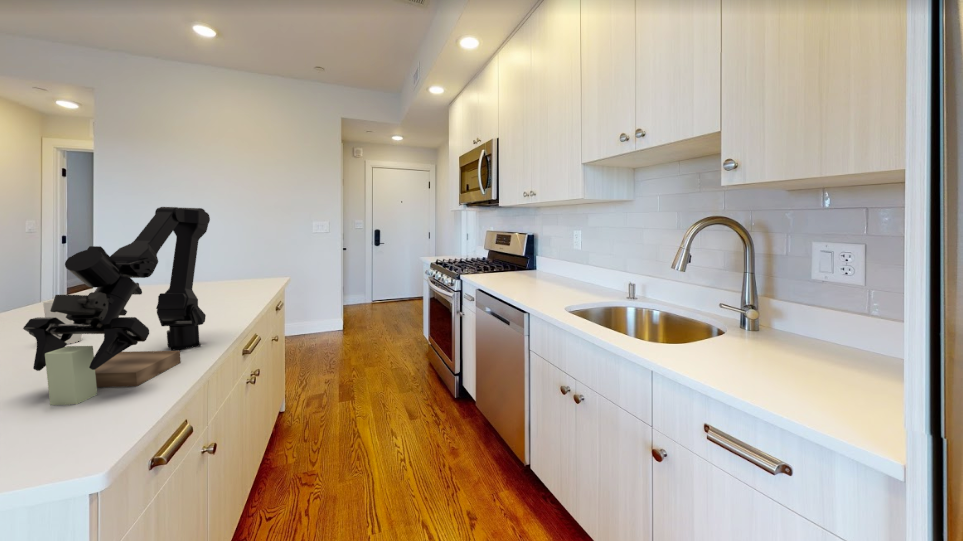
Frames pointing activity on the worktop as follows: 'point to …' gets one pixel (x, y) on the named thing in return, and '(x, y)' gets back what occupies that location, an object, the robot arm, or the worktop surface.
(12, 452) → the worktop surface
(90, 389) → the block
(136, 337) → the robot arm
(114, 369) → the base
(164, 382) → the worktop surface
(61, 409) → the worktop surface
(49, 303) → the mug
